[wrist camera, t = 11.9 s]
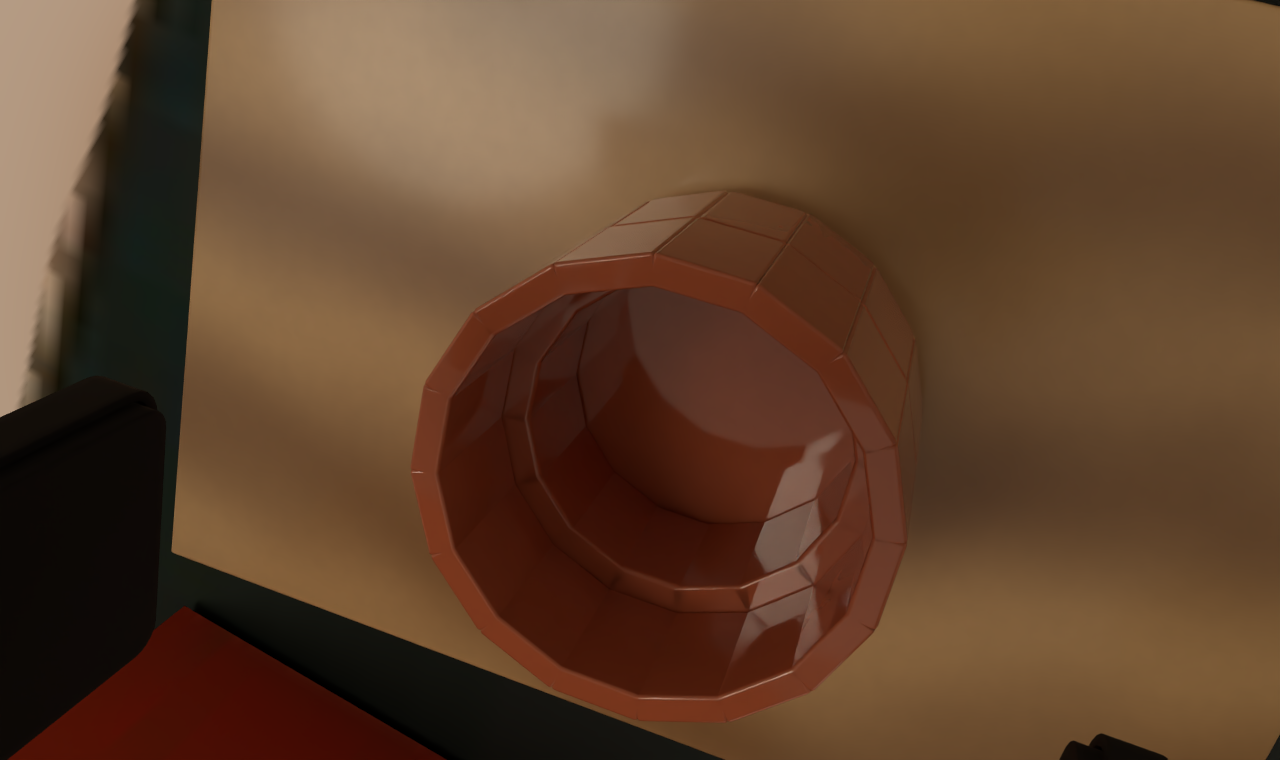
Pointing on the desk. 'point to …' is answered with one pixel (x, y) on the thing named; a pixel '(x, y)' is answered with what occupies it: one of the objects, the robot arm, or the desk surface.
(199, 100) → the desk surface
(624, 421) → the dip bowl
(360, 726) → the file binder
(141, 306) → the desk surface
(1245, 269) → the oak riser board
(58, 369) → the desk surface
